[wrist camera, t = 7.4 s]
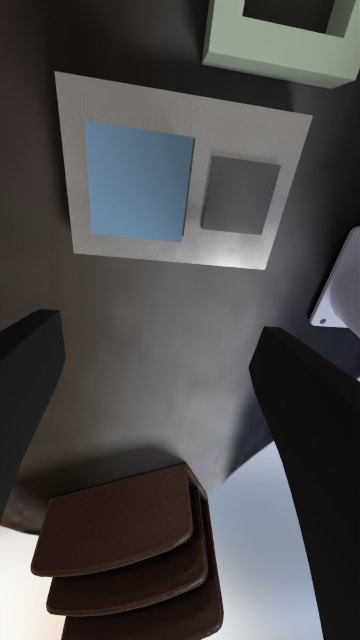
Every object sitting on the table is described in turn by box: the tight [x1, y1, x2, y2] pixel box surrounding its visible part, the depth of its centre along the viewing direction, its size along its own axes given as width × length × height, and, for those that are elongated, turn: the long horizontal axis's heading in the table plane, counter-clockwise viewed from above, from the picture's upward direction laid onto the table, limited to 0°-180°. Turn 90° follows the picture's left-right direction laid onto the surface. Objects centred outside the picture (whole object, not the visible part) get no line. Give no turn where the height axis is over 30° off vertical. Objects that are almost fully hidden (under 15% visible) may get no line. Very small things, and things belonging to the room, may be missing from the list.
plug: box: [84, 121, 194, 242], centre depth 12 cm, size 4×4×7 cm
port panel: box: [55, 71, 313, 270], centre depth 15 cm, size 12×8×2 cm, turn 83°
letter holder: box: [31, 462, 224, 640], centre depth 31 cm, size 10×20×14 cm, turn 109°
